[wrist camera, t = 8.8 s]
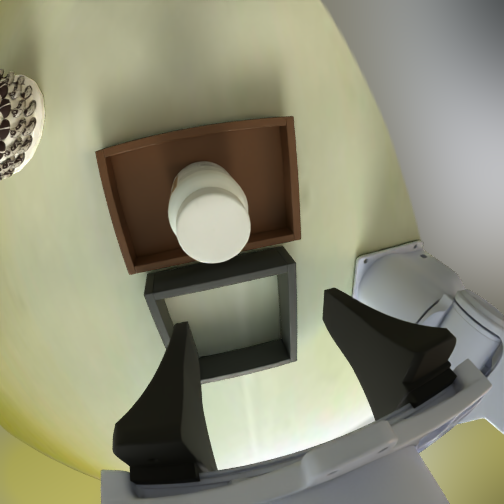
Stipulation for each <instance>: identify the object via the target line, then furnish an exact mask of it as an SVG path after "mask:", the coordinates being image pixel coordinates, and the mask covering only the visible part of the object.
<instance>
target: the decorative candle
mask: <svg viewBox="0 0 504 504" xmlns="http://www.w3.org/2000/svg"><path fill="white" fill-rule="evenodd" d="M3 73H4V70H3V69H0V181H1V180H2V178H3V179H5V178H8V177H10V176H11V175H12V174H14V173H16V172H18V171H21V169H22V168H23V167H24V166H25V165H26V164H27V163H28V161H29V160H30V159H31V158H32V157H33V155H34V153H35V150H36V148H37V146H38V144H39V142H40V140H41V137H42V131H43V126H44V120H45V108H44V98H43V95H42V93H41V91H40V89H39V87H38V85H37V83H36V82H35V81H34V80H32V79H30V78H28V77H27V76H25V75H14V72H13V71H11V72H9V73H8V74H7V76H6V77H5V78H3Z"/></svg>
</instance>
